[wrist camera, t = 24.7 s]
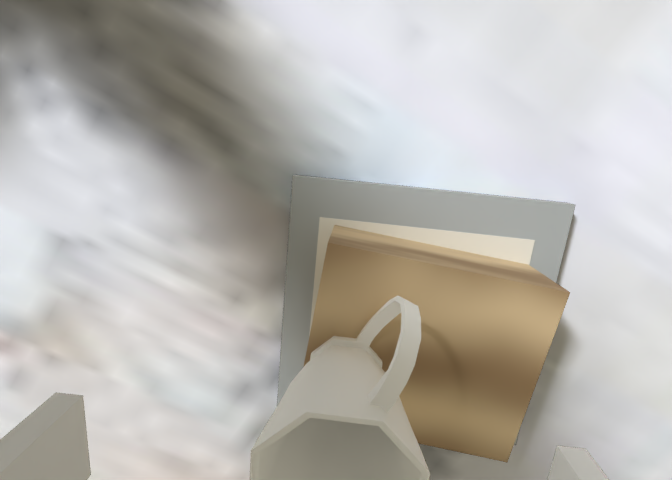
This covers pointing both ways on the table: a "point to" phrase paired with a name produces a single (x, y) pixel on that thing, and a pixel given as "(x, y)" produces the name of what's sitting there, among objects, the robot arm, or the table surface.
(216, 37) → the table surface
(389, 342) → the oak block
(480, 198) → the build board
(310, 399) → the cup
